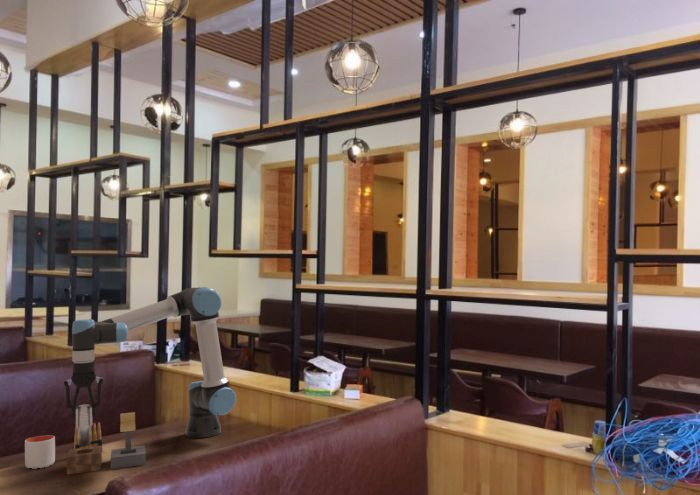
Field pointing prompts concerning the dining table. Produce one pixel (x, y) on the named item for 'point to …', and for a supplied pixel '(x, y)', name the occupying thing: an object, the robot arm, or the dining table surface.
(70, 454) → the frame
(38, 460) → the cup
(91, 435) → the ammunition clip
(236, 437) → the dining table surface
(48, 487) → the dining table surface
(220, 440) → the dining table surface
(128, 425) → the latch
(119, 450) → the socket block
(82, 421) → the peg
